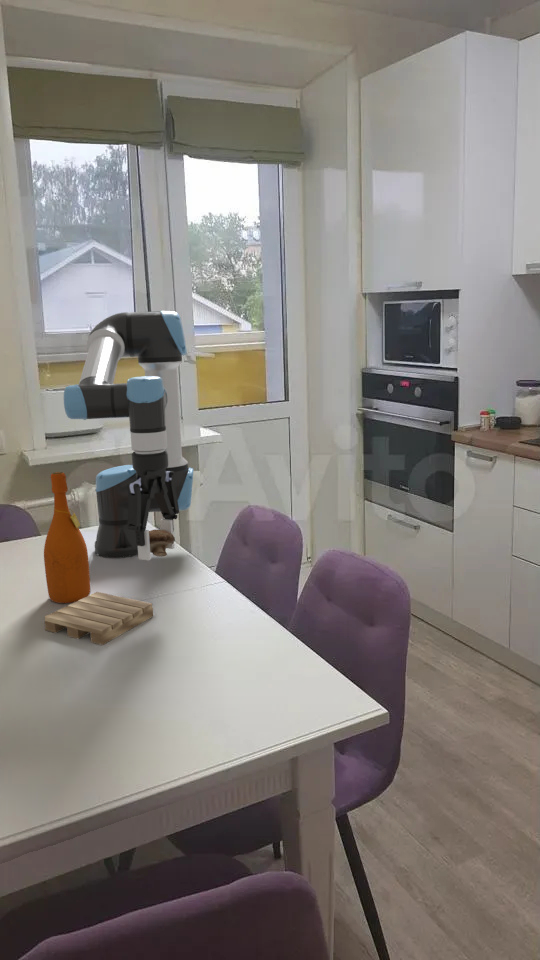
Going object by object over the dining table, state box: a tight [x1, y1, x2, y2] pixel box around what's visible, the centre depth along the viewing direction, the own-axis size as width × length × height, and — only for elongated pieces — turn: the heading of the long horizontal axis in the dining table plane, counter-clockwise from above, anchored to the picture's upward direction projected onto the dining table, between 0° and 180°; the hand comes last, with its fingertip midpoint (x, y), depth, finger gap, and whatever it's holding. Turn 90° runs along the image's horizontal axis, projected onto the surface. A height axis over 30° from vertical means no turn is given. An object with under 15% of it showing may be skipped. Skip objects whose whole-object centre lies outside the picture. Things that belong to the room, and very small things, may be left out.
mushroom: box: [149, 529, 176, 557], centre depth 161 cm, size 8×8×6 cm
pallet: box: [44, 591, 154, 646], centre depth 159 cm, size 16×16×3 cm
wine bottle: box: [43, 471, 91, 604], centre depth 171 cm, size 10×10×30 cm
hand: (156, 553), depth 162 cm, fingers closed on mushroom, 8 cm apart
